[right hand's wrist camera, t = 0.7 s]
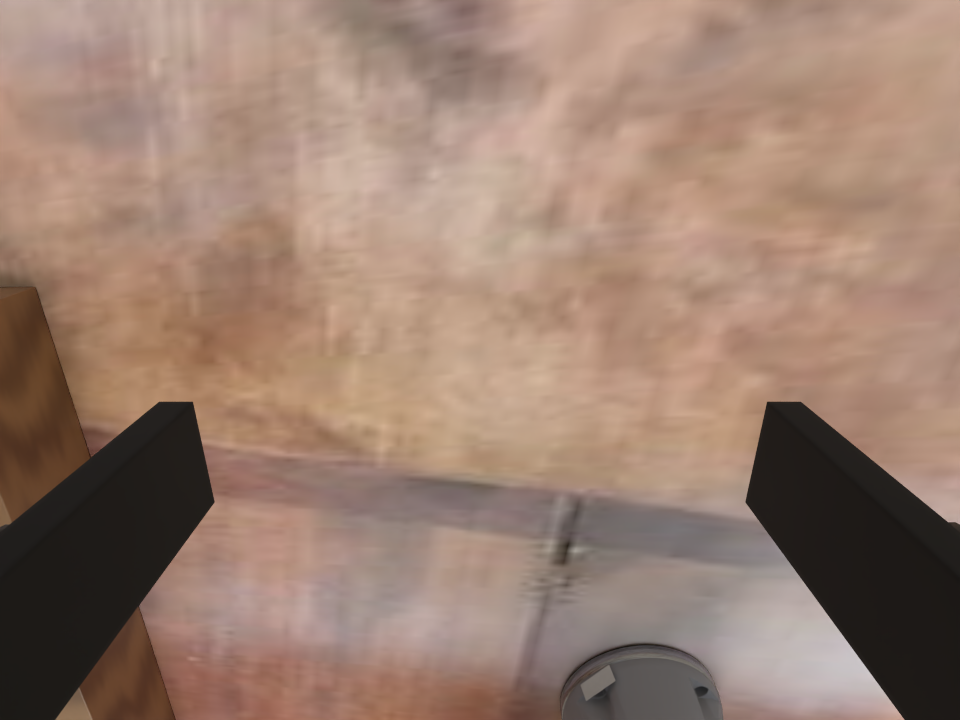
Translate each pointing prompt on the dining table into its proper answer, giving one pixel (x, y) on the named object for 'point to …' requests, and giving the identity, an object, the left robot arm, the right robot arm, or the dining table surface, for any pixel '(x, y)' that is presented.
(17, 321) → the beam
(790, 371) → the dining table surface
